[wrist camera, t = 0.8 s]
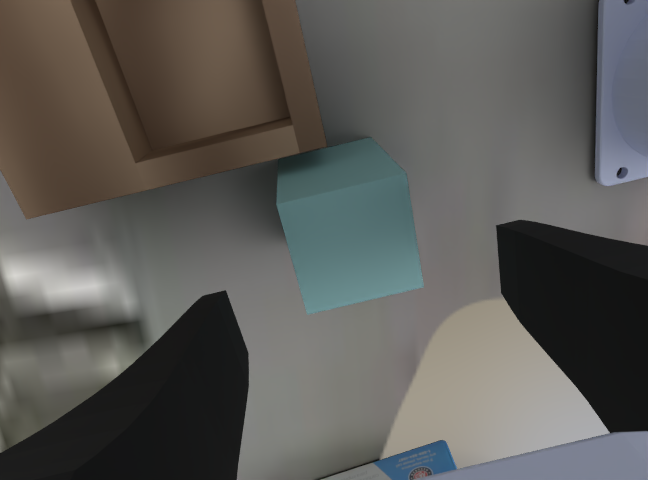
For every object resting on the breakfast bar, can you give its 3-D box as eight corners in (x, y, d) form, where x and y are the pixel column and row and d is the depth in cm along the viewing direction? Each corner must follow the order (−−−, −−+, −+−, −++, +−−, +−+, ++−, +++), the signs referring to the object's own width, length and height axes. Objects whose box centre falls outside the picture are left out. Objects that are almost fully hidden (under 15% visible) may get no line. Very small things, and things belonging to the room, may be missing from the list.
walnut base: (272, -84, 16) (270, -113, 13) (320, 132, 19) (327, 146, 16) (-34, -9, 16) (-100, -20, 13) (64, 194, 19) (26, 219, 16)
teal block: (370, 136, 19) (406, 173, 14) (386, 223, 21) (423, 287, 15) (278, 159, 19) (276, 204, 14) (301, 243, 21) (307, 314, 15)
